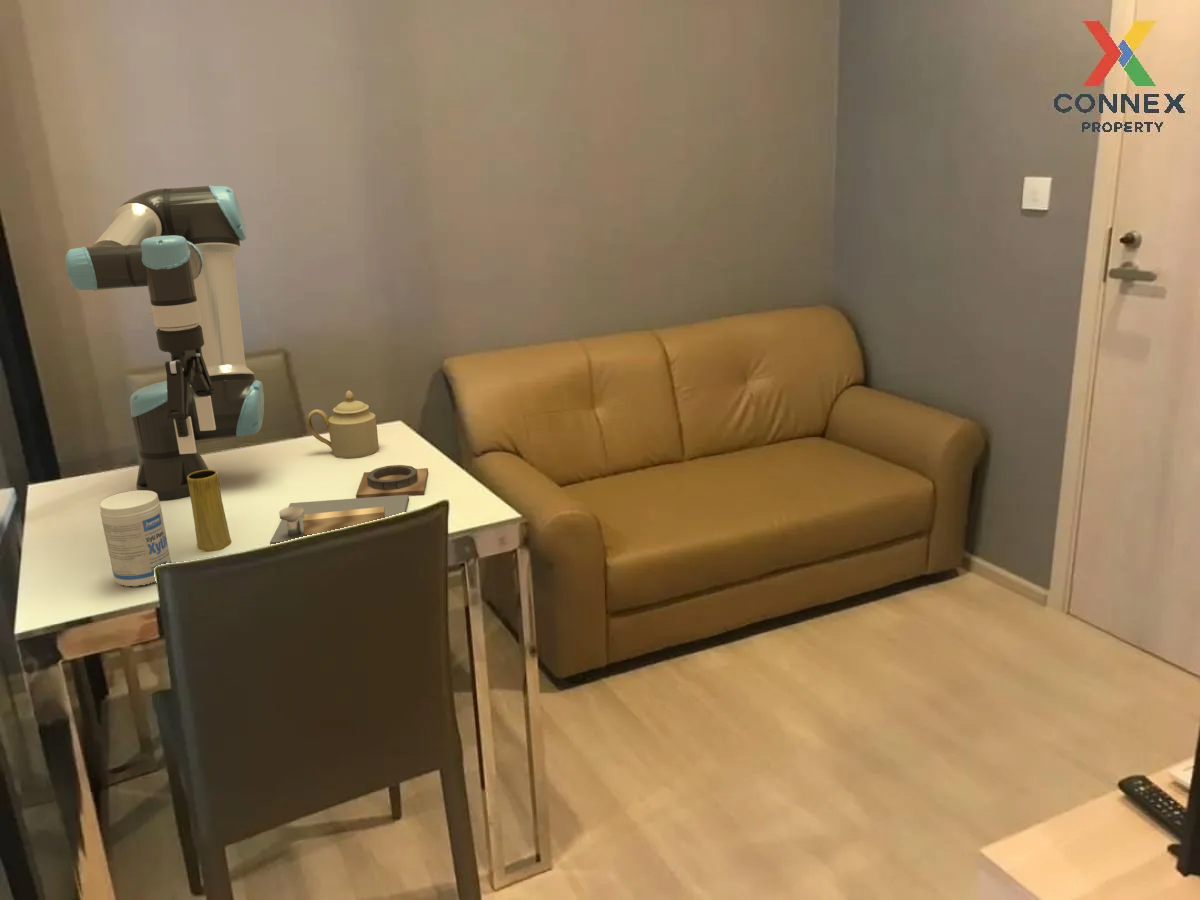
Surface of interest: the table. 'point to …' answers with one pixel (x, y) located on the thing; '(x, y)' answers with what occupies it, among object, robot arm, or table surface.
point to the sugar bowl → (349, 429)
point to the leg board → (389, 503)
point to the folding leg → (331, 518)
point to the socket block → (393, 482)
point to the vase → (208, 511)
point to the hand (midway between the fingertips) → (198, 441)
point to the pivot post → (293, 527)
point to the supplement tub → (134, 536)
